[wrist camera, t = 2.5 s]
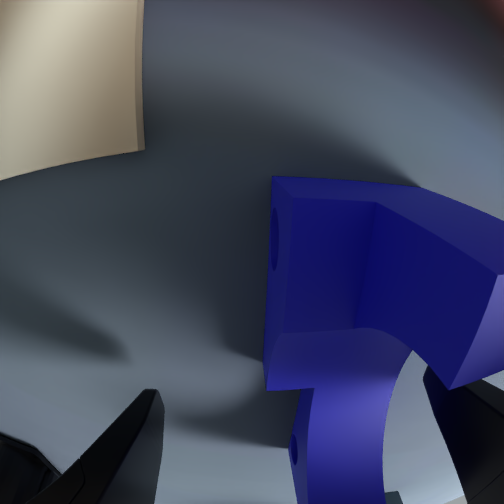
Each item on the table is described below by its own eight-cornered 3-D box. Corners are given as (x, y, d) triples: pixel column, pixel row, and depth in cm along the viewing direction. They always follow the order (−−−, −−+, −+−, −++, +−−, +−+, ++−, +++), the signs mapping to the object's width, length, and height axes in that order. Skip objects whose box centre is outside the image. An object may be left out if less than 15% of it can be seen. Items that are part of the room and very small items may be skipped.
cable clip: (271, 175, 8) (369, 283, 2) (418, 186, 8) (585, 265, 2) (256, 448, 12) (266, 559, 6) (346, 438, 12) (378, 538, 7)
